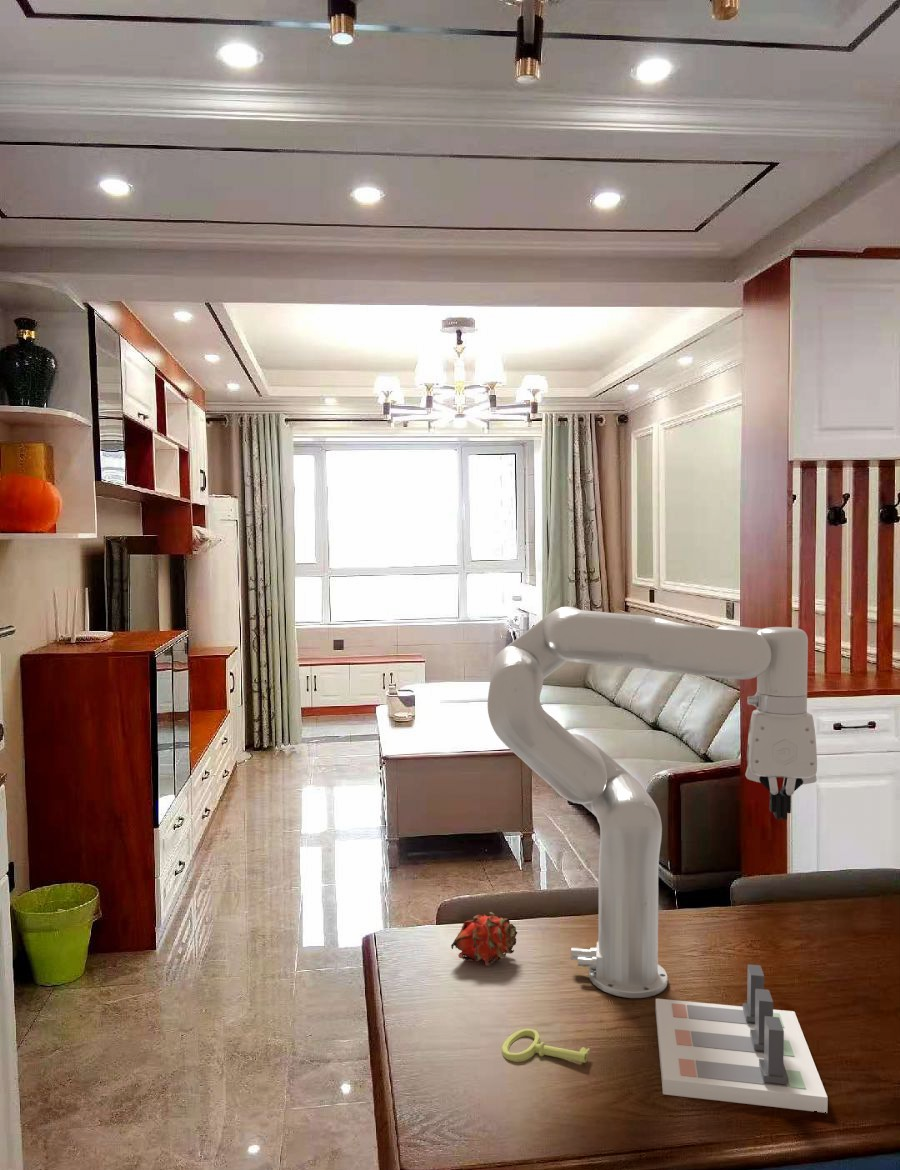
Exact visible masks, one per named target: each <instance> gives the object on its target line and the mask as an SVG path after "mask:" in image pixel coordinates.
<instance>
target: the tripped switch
mask: <svg viewBox="0 0 900 1170" xmlns="http://www.w3.org/2000/svg"><path fill="white" fill-rule="evenodd" d="M783 1054H784V1030H783V1027H782V1024H781V1021H780V1019H779V1017H771V1016H765V1025H764V1059H759V1067H760V1071H761V1074H762V1078H763V1081H764V1082H771V1083H781V1084H788V1075H787V1072H786V1069H785V1066H784V1063H783Z"/></svg>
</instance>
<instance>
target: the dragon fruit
mask: <svg viewBox="0 0 900 1170" xmlns="http://www.w3.org/2000/svg"><path fill="white" fill-rule="evenodd" d="M488 915H489V916H487V915H486V914H485V913H484V914H482V915H481V914H477V915H474V916H473V917H472V919H469V920H466V921H464V922H463V925H462V927H461V929H460V931H459V933H458V934H457V935H456V938H455V939H454V940H453V942H452V943H451V945H450V948H451V950H453V949H454V947H455V949H458V950H459V951H461V952H459V953H458V958H459V959H462V960H463V961H465V962H479V961H481V960H483V961H484V963H485V966H486V967H490V965H491V964H493V963H495V962H498V961H500V960H502V958H506V956H507V954H510V955H511V954H513V953H514V952H515V950H514V949H513V948H514V946H515V945H516V944H517V938H516V937H517V934H518V933H519V932H518V931H517V927H516V926H515V925H514V924H512V923H511V922H510V920H509V918H503V917H502V916H501V917H498V915H497V914H495V913H493V912H492V911H491V912H488Z"/></svg>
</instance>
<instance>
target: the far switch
mask: <svg viewBox="0 0 900 1170" xmlns="http://www.w3.org/2000/svg"><path fill="white" fill-rule="evenodd" d="M746 977H747V978H746V979H747V980H746V981H747V984H746V985H747V987H746V988H747V991H746V993H747V995H746V997H747V998H746V999H747V1000H746V1002H742V1007H743V1011H744V1015H745V1019H746V1022H755V989H765V975H764V972H763V969H762V966H761V965H759V964H747V976H746Z"/></svg>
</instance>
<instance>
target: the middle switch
mask: <svg viewBox="0 0 900 1170" xmlns="http://www.w3.org/2000/svg"><path fill="white" fill-rule="evenodd" d="M773 1010H774V1000H773V998H772V994H771V992H770V989H765V988H764V989H755V1030H752V1029H750V1037H751V1040H752V1044H753V1047H754V1050H761V1051H764V1025H765V1016H771V1017H773Z"/></svg>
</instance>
